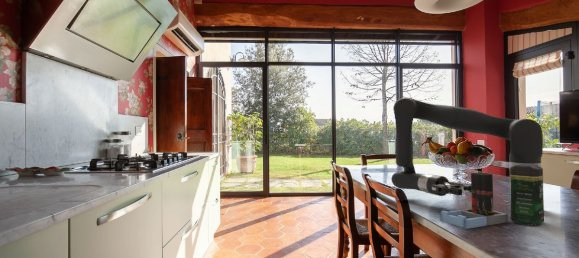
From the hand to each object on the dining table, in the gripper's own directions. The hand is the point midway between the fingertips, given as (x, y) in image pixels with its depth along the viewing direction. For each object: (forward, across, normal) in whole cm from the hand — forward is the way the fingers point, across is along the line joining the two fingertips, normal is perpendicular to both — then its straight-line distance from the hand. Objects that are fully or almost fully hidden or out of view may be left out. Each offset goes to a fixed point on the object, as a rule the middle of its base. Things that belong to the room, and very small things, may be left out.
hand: (470, 191), depth 101 cm
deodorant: (+4, 0, +9) cm, 10 cm away
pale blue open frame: (+4, -4, +8) cm, 10 cm away
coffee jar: (+12, +10, +9) cm, 17 cm away
